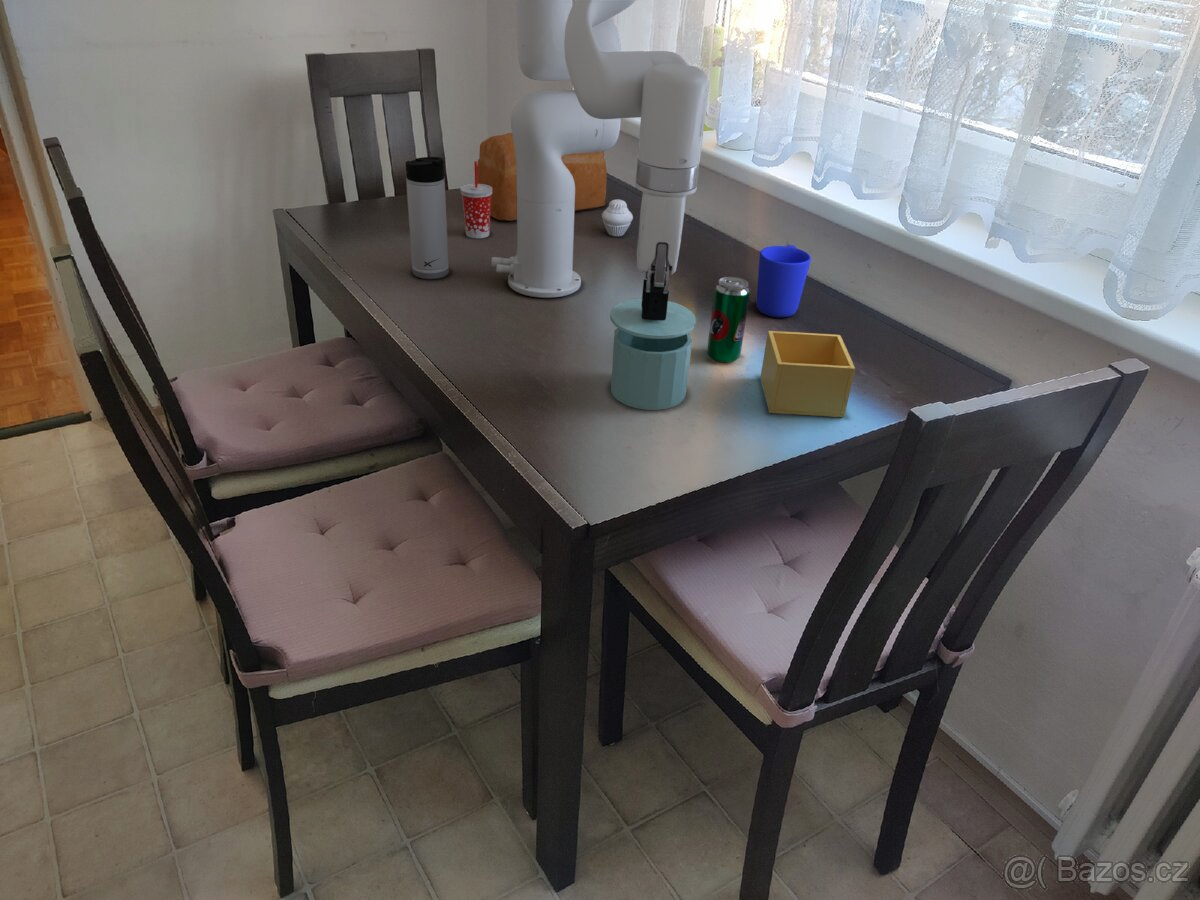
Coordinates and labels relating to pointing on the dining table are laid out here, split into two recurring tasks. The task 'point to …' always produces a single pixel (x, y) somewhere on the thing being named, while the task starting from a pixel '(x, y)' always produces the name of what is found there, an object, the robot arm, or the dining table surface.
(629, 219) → the muffin
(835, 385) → the bin
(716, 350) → the soda can
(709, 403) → the dining table surface
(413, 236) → the travel mug
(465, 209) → the beverage cup
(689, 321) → the pot lid
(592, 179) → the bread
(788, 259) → the mug
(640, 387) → the pot
